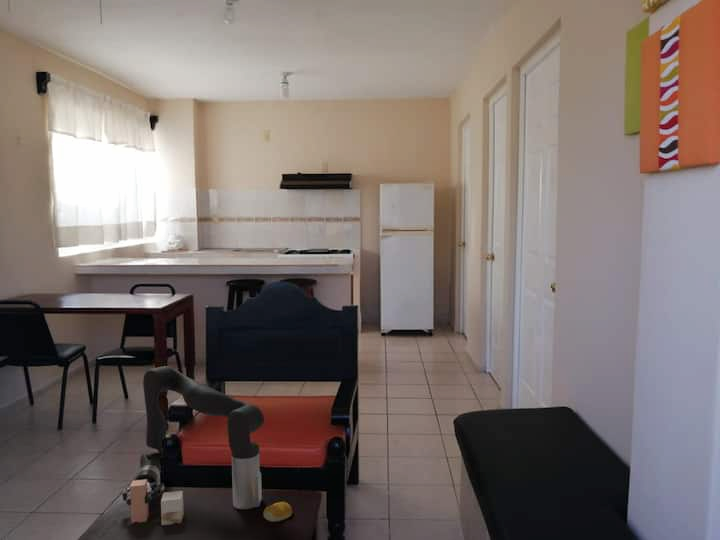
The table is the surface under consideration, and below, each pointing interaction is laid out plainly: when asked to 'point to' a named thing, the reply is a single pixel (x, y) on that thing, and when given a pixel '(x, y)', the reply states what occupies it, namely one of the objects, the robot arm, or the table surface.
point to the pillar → (138, 501)
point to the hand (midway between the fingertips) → (137, 501)
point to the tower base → (172, 517)
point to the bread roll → (277, 511)
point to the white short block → (172, 501)
